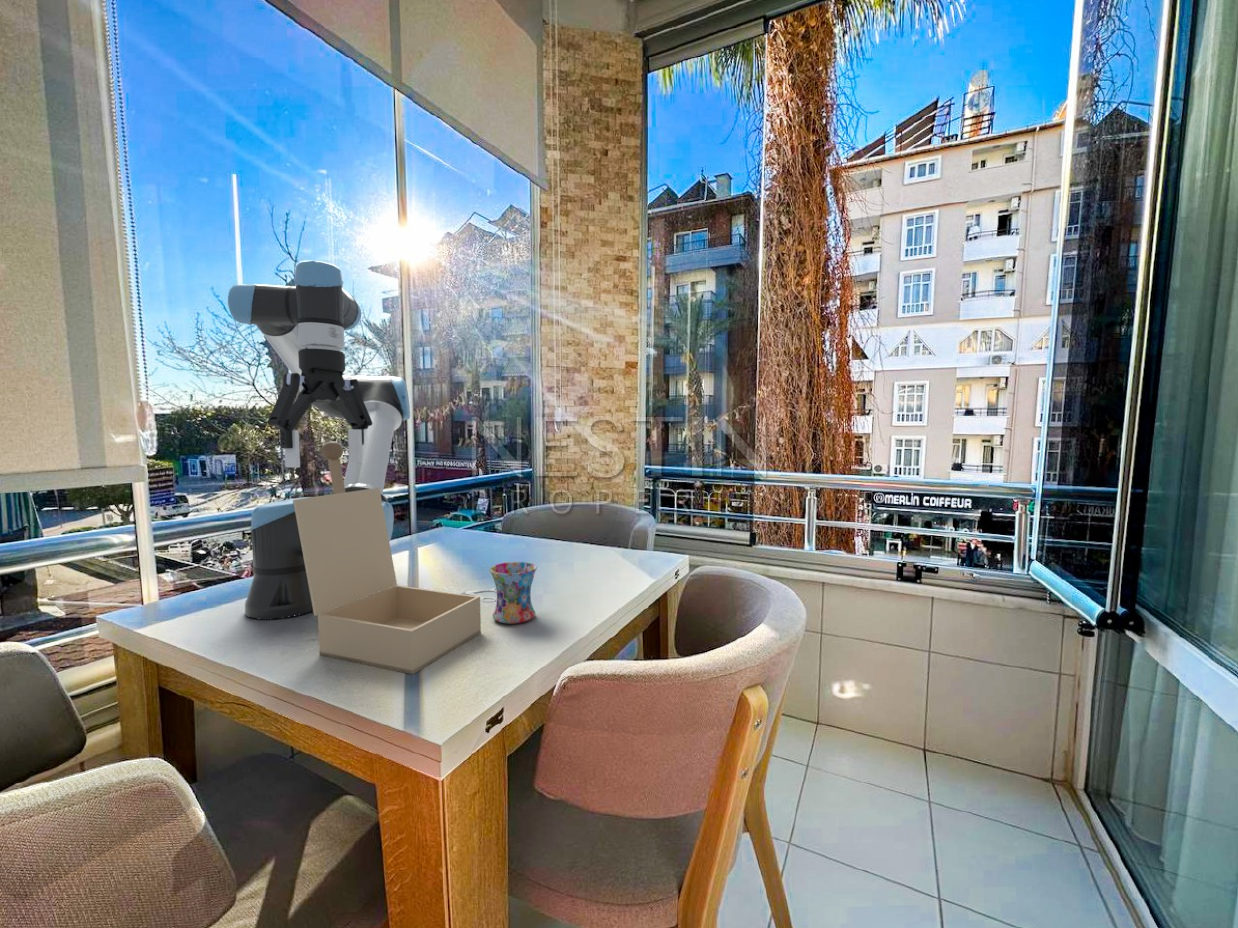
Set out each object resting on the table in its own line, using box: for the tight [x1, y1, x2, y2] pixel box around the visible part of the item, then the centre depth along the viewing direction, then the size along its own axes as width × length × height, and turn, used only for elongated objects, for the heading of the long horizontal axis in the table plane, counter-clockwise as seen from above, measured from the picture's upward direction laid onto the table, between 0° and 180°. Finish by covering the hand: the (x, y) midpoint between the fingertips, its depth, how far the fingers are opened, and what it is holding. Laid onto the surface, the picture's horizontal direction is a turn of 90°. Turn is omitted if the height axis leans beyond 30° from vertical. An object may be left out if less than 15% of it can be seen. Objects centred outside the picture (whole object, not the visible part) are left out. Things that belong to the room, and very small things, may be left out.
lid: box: [293, 440, 398, 617], centre depth 99 cm, size 30×18×4 cm
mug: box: [489, 561, 538, 625], centre depth 109 cm, size 12×9×11 cm
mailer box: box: [317, 584, 482, 675], centre depth 95 cm, size 20×18×7 cm
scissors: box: [432, 587, 497, 603], centre depth 124 cm, size 11×1×20 cm
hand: (326, 464), depth 99 cm, fingers open, 13 cm apart
